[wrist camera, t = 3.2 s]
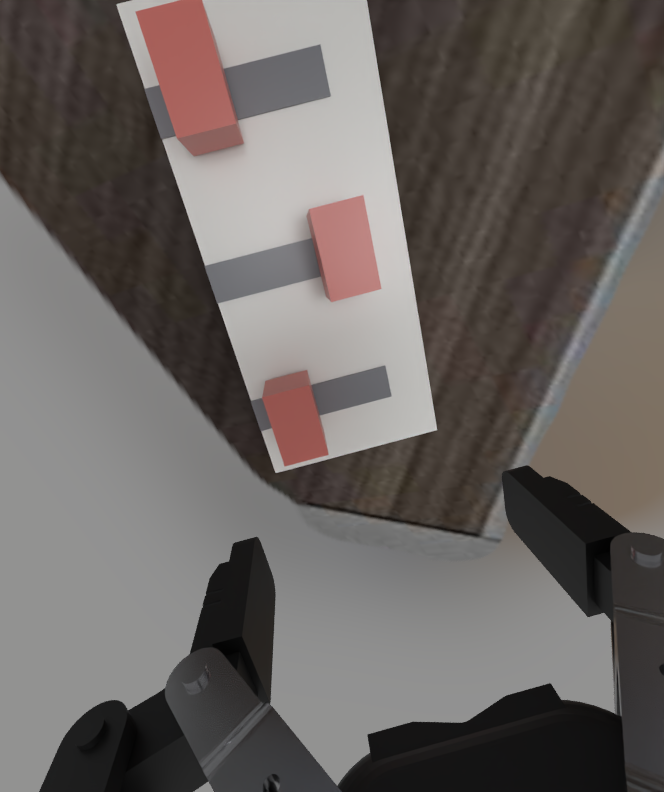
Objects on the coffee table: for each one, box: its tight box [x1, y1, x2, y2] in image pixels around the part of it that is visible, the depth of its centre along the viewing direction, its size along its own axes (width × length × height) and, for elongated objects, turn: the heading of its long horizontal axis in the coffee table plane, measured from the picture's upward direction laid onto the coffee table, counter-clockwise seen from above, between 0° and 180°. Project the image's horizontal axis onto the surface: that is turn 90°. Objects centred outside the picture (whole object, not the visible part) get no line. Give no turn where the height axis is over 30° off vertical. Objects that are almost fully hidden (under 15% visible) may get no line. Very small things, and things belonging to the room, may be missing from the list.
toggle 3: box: [307, 195, 381, 302], centre depth 23 cm, size 5×3×4 cm, turn 14°
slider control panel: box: [116, 0, 437, 473], centre depth 26 cm, size 35×13×5 cm, turn 14°
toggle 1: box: [135, 0, 244, 156], centre depth 20 cm, size 5×3×4 cm, turn 14°
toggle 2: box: [262, 370, 329, 466], centre depth 26 cm, size 5×3×4 cm, turn 14°
